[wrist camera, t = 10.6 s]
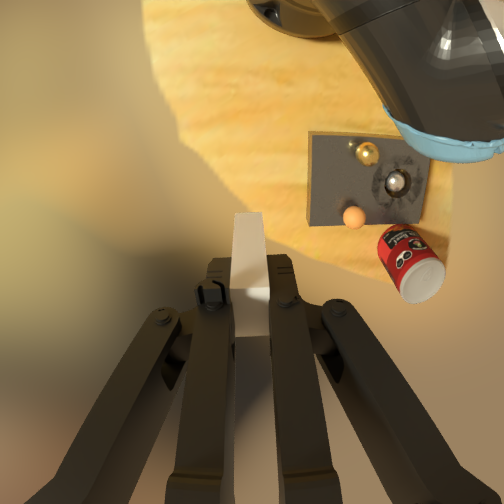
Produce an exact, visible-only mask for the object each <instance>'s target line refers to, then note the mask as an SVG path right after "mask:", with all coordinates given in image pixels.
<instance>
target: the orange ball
mask: <svg viewBox="0 0 504 504" xmlns="http://www.w3.org/2000/svg"><path fill="white" fill-rule="evenodd" d="M365 220H366V215H365V213H364V211H363V210H362V209H361V208H360V207H357V206H351V207H349V208H347V209H346V210H345V212H344V214H343V221H344V223H345V225H346V226H347V227H348V228H350V229H359V228H361V227H362V226H363V225H364V223H365Z"/></svg>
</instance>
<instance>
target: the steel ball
mask: <svg viewBox="0 0 504 504" xmlns="http://www.w3.org/2000/svg"><path fill="white" fill-rule="evenodd" d="M404 185H405V178H404V176H403V174H402V173H401V172H399V171H397V170H394V171H392V172H390V173H389V175H388V176H387V178H386V179H385V186H386V188H387V189H388V190H390V191H392V192H398V191H400V190H402V189H403V187H404Z"/></svg>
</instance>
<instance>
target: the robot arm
mask: <svg viewBox="0 0 504 504" xmlns="http://www.w3.org/2000/svg"><path fill="white" fill-rule="evenodd" d="M246 1H247V3H248V5H249V7H250V8H251V10H252V11H253V12H254V13H255V15H256V16H257V17H258V18H259V19H260V20H261V21H263V22H264V23H265V24H267V25H268V26H270V27H271V28H273V29H275V30H277V31H279V32H282V33H284V34H287V35H291V36H295V37H301V38H320V37H325V36H329V35H332V34H335V33H337V34H338V36H339V38H340V39H341V40H342V42H343V43H344V44H345V46H346V47H347V49H348V50H349V51H350V53H351V54H352V56H353V57H354V59H355V60H356V62H357V63H358V65H359V66H360V68H361V69H362V71H363V72H364V74H365V75H366V77H367V78H368V80H369V82H370V83H371V85H372V86H373V88H374V90H375V91H376V93H377V95H378V96H379V98H380V100H381V101H382V103H383V108H384V110H385V112H386V114H387V115H388V116H389V117H390V118H391V119H392V120H393V121H394V123H395V125H396V126H397V128H398V130H399V132H400V133H401V135H402V137H403V138H404V140H405V141H406V142H407V144H408V145H410V146H411V147H413V148H414V149H415V150H416V151H417V152H419V153H420V154H422V155H424V156H426V157H428V158H431V159H434V160H438V161H442V162H449V163H474V162H480V161H485V160H488V159H491V158H492V157H493V153H498V154H501V153H502V152H504V2H502V1H498V0H246ZM194 291H195V295H196V301H197V307H195V308H194V309H192V310H189V311H186V312H182V313H178V312H177V311H176V310H175V309H174V308H171V307H162V308H158V309H156V310H155V311H152V313H151V314H150V315H149V316H148V318H147V319H146V321H145V322H144V324H143V325H142V327H141V328H140V330H139V332H138V333H137V335H136V336H135V338H134V339H133V341H132V343H131V344H130V346H129V347H128V349H127V351H126V352H125V354H124V355H123V357H122V358H121V360H120V362H119V363H118V365H117V367H116V368H115V370H114V372H113V373H112V375H111V376H110V378H109V380H108V382H107V383H106V385H105V387H104V388H103V390H102V392H101V394H100V395H99V397H98V399H97V400H96V402H95V404H94V405H93V407H92V409H91V411H90V412H89V414H88V416H87V418H86V419H85V421H84V423H83V425H82V426H81V428H80V430H79V432H78V433H77V435H76V437H75V439H74V441H73V443H72V444H71V447H70V448H69V450H68V452H67V454H66V456H65V457H64V459H63V461H62V463H61V465H60V467H59V469H58V471H57V473H56V475H55V477H54V478H53V479H52V480H51V481H49V482H48V483H47V484H46V485H45V486H44V487H43V488H42V489H40V490H39V491H38V492H37V493H36V494H35V495H33V496H32V497H31V498H30V499H29V500H28V501H27V502H25V503H24V504H128V502H129V500H130V498H131V496H132V493H133V491H134V489H135V487H136V484H137V482H138V480H139V477H140V475H141V473H142V470H143V468H144V466H145V464H146V461H147V459H148V456H149V454H150V452H151V450H152V447H153V445H154V443H155V441H156V439H157V436H158V434H159V432H160V430H161V427H162V425H163V423H164V421H165V418H166V416H167V414H168V412H169V409H170V407H171V405H172V402H173V400H174V398H175V396H176V394H177V391H178V389H179V387H180V385H181V382H182V380H183V378H184V376H185V373H186V371H187V374H186V380H185V387H184V395H183V402H182V409H181V417H180V425H179V434H178V442H177V451H176V459H175V467H174V471H173V473H172V474H171V475H170V476H169V478H168V481H167V485H166V494H165V504H235V498H234V414H235V412H234V411H235V363H236V344H235V337H242V336H266V335H270V356H271V369H272V383H273V399H274V413H275V429H276V447H277V463H278V481H279V504H343V502H342V494H341V487H340V482H339V477H338V474H337V472H336V471H335V470H334V468H333V465H332V459H331V452H330V446H329V439H328V433H327V427H326V421H325V416H324V409H323V403H322V398H321V392H320V386H319V381H318V375H317V370H316V365H315V359H314V354H316V357H317V359H318V361H319V363H320V364H321V366H322V368H323V370H324V372H325V374H326V376H327V378H328V380H329V382H330V384H331V386H332V388H333V389H334V391H335V393H336V395H337V397H338V399H339V401H340V403H341V405H342V407H343V409H344V411H345V413H346V415H347V417H348V418H349V420H350V422H351V424H352V426H353V428H354V430H355V432H356V434H357V436H358V438H359V440H360V442H361V444H362V446H363V448H364V450H365V452H366V453H367V456H368V457H369V459H370V461H371V463H372V465H373V467H374V469H375V471H376V473H377V475H378V477H379V479H380V481H381V483H382V485H383V487H384V489H385V491H386V493H387V495H388V497H389V498H390V500H391V501H392V503H393V504H502V503H501V498H500V496H499V495H498V494H497V493H496V492H495V491H494V490H492V489H491V488H490V487H488V486H487V485H486V484H484V483H483V482H481V481H480V480H479V479H477V478H476V477H475V476H473V475H472V474H471V473H469V472H468V471H467V470H465V469H464V468H463V467H461V466H460V464H459V462H458V461H457V459H456V457H455V456H454V454H453V452H452V451H451V449H450V448H449V446H448V444H447V443H446V441H445V440H444V438H443V436H442V435H441V433H440V432H439V430H438V428H437V427H436V425H435V424H434V422H433V420H432V419H431V417H430V416H429V414H428V413H427V411H426V410H425V408H424V407H423V405H422V403H421V402H420V401H419V399H418V397H417V396H416V394H415V393H414V392H413V390H412V389H411V387H410V385H409V384H408V382H407V381H406V380H405V378H404V377H403V375H402V374H401V372H400V371H399V369H398V368H397V367H396V365H395V364H394V362H393V361H392V359H391V358H390V356H389V355H388V354H387V352H386V351H385V349H384V348H383V347H382V345H381V344H380V342H379V341H378V339H377V338H376V337H375V335H374V334H373V332H372V331H371V330H370V328H369V327H368V325H367V324H366V323H365V321H364V320H363V319H362V317H361V316H360V314H359V313H358V312H357V310H356V309H355V308H354V306H353V305H352V304H351V303H350V302H348V301H345V300H343V299H331V300H329V301H326V303H325V304H323V306H318V305H313V304H309V303H307V302H305V301H304V300H303V299H302V298H301V296H300V295H299V293H298V288H297V284H296V279H295V274H294V269H293V265H292V261H291V259H290V258H289V257H288V256H287V255H286V254H280V255H279V254H277V255H266V247H265V237H264V227H263V217H262V212H250V213H235V221H234V234H233V249H232V257H230V258H213V260H212V261H211V262H210V263H209V264H208V270H207V275H206V279H205V280H203V281H201V282H199V283H198V284H197V285H196V287H195V289H194ZM313 353H314V354H313Z"/></svg>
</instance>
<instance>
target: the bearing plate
mask: <svg viewBox="0 0 504 504" xmlns="http://www.w3.org/2000/svg"><path fill="white" fill-rule="evenodd" d="M364 142H370V143H373V144H374V145H376V146H377V148H378V149H379V152H380V158H379V161H378V162H377V163H376V164H375V165H374V166H371V167H366V166H363V165H361V164H360V163H359V162H358V161H357V159H356V155H355V152H356V149H357V147H358V146H359V145H360V144H361V143H364ZM429 164H430V158H428V157H426V156H424V155H422V154H420V153H419V152H417V151H416V150H415V149H414V148H413V147H411V146H410V145H408V144H407V142H406V141H405V140H404V138H403V137H401V136H391V135H379V134H366V133H348V132H315V131H308V185H307V214H306V219H307V222H308V224H309V226H337V225H345V223H344V221H343V214H344V212H345V210H346V209H347V208H349V207H351V206H357V207H360V208H361V209H362V210H363V211H364V213H365V215H366V220H365V223H364V225H373V224H419V220H420V215H421V210H422V205H423V200H424V195H425V189H426V184H427V178H428V171H429ZM395 169H403V172H404V178H405V185H404V187H403V189H402V190H400V191H398V192H386V190H385V188H384V187H385V179H386V178H387V176H388V175H389V173H390V172H392V171H394V170H395Z"/></svg>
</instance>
